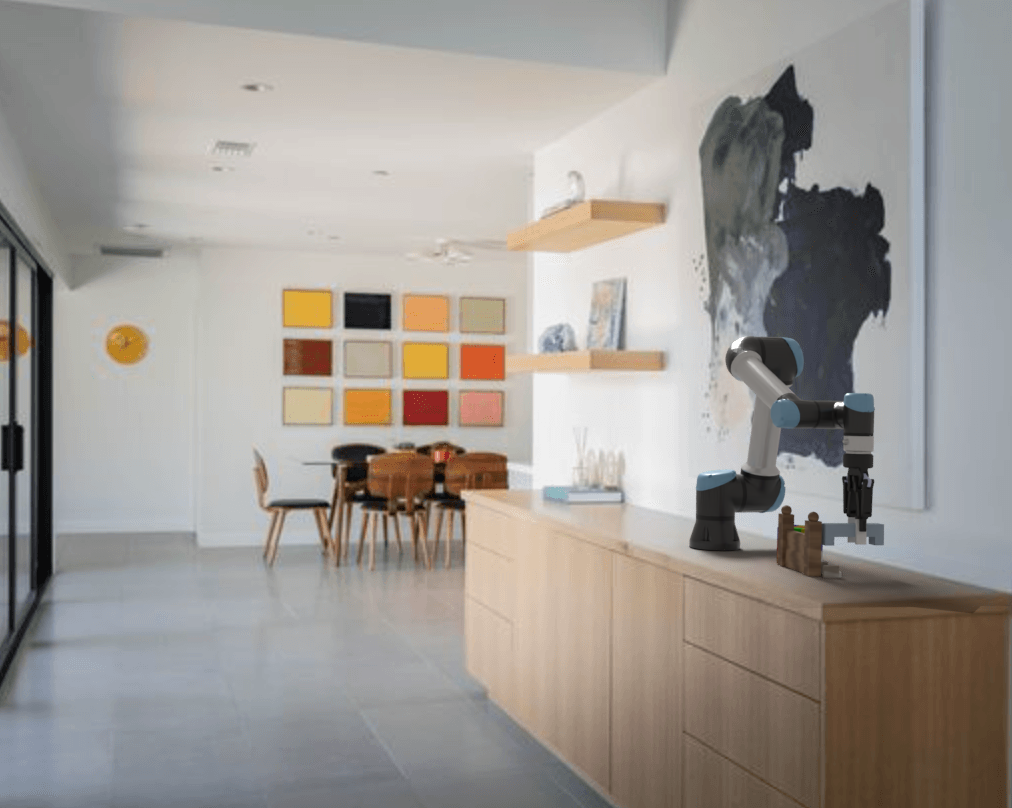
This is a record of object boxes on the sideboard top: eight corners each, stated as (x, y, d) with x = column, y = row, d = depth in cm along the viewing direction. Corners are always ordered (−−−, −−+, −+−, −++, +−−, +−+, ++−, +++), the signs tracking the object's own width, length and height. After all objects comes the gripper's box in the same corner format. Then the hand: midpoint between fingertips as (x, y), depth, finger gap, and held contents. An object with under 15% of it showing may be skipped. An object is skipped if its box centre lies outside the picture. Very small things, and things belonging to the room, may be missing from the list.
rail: (819, 544, 302) (819, 523, 302) (877, 543, 304) (877, 523, 304) (825, 545, 298) (825, 524, 298) (883, 545, 301) (884, 524, 301)
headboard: (777, 564, 318) (778, 504, 318) (804, 564, 319) (805, 504, 319) (812, 577, 296) (813, 513, 296) (841, 577, 297) (843, 513, 297)
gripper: (830, 451, 309) (829, 539, 309) (859, 453, 293) (858, 547, 292) (856, 451, 310) (855, 539, 310) (887, 454, 294) (886, 547, 294)
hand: (856, 543), depth 301 cm, fingers closed on rail, 4 cm apart
